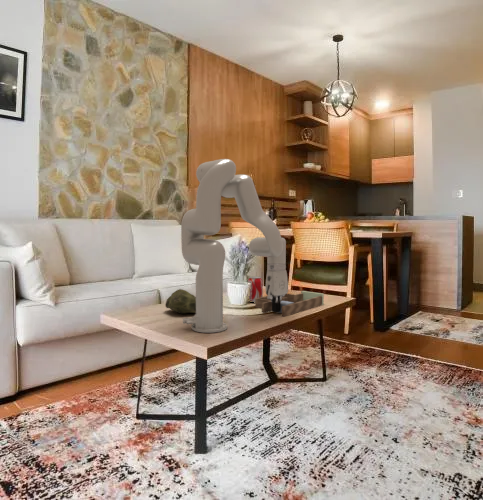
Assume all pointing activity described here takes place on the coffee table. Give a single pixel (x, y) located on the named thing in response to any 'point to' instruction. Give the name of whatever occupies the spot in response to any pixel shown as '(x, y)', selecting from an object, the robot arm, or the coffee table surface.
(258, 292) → the soda can
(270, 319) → the coffee table surface
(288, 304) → the block
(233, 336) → the coffee table surface
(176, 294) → the decorative rock
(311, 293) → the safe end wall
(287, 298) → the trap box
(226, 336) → the coffee table surface
